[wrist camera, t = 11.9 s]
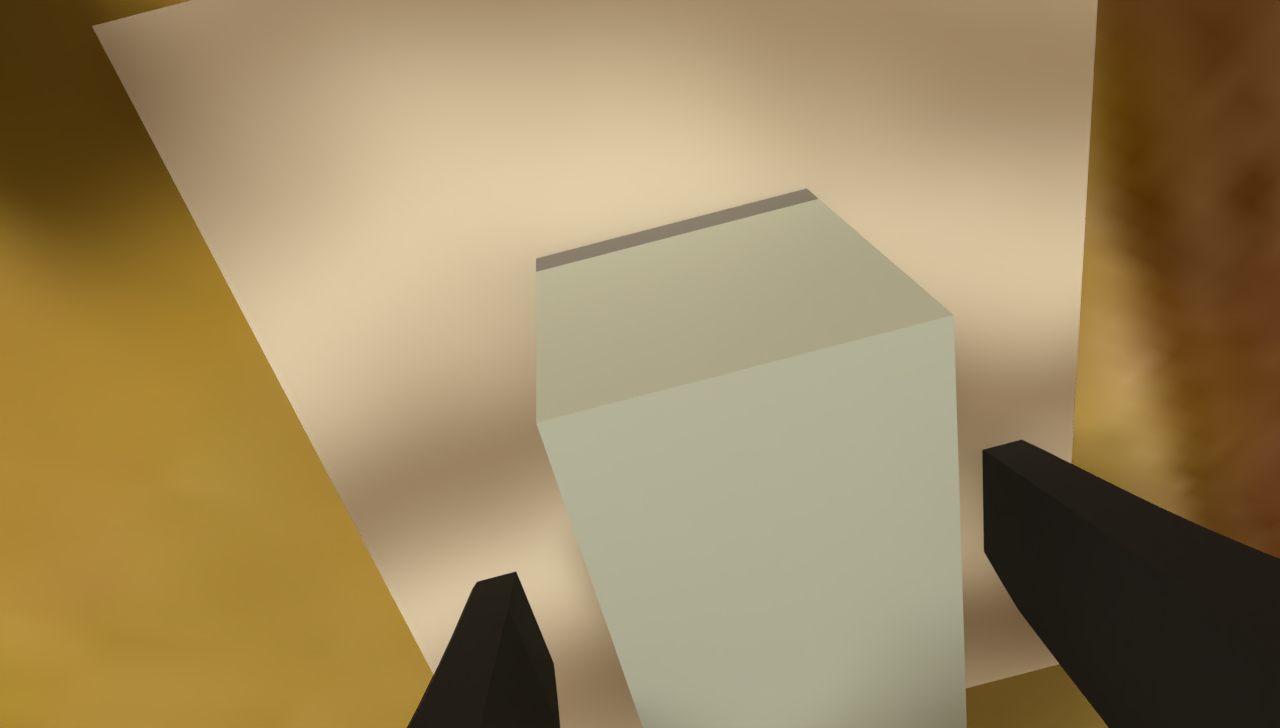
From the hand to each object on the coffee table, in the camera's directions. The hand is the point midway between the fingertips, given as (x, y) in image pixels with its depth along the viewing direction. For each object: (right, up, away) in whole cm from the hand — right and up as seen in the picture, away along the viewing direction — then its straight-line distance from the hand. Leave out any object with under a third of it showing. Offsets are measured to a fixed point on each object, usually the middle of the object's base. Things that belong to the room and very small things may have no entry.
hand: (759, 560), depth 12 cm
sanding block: (0, +2, +3) cm, 3 cm away
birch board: (-1, +2, +4) cm, 5 cm away
